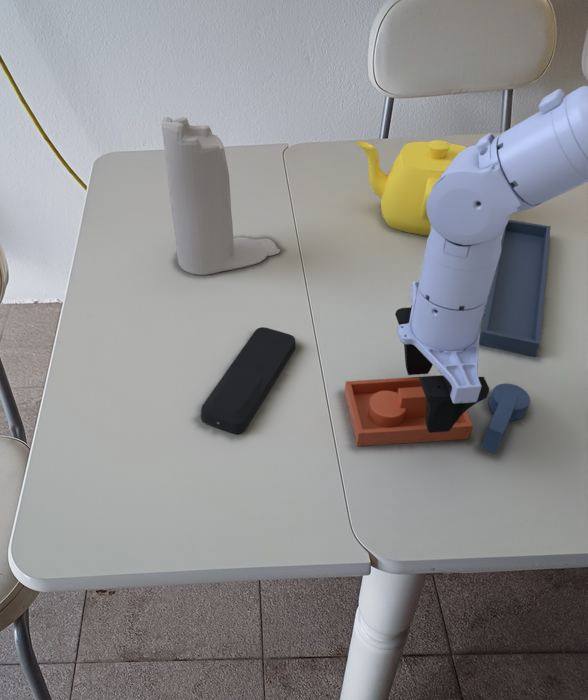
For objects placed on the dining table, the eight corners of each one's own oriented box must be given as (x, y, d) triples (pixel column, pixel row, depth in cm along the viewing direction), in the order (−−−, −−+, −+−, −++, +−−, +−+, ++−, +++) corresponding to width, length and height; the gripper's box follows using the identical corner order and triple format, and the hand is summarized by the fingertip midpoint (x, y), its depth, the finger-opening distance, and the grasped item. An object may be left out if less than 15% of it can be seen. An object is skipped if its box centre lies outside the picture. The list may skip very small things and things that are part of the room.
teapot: (340, 240, 89) (346, 167, 82) (355, 186, 100) (362, 117, 93) (508, 260, 84) (531, 184, 77) (505, 200, 95) (524, 129, 88)
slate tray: (535, 356, 71) (539, 343, 70) (478, 344, 73) (482, 331, 71) (546, 238, 88) (550, 226, 86) (500, 230, 89) (503, 218, 88)
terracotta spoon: (446, 397, 66) (451, 376, 64) (456, 423, 64) (462, 403, 62) (364, 402, 66) (367, 381, 64) (372, 429, 64) (375, 408, 62)
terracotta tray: (448, 387, 68) (451, 374, 67) (469, 438, 63) (473, 426, 61) (344, 393, 68) (345, 381, 66) (356, 446, 63) (358, 433, 61)
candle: (285, 259, 86) (288, 111, 73) (184, 279, 84) (167, 130, 70) (268, 231, 91) (268, 89, 78) (173, 250, 89) (155, 106, 75)
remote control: (259, 336, 76) (197, 420, 66) (259, 324, 75) (196, 408, 64) (298, 347, 74) (241, 436, 64) (298, 335, 73) (240, 424, 63)
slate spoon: (507, 458, 61) (515, 438, 59) (469, 443, 62) (476, 423, 60) (529, 402, 66) (538, 381, 64) (494, 389, 67) (501, 368, 65)
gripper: (387, 244, 60) (371, 352, 69) (429, 350, 49) (404, 460, 58) (462, 240, 60) (437, 348, 69) (521, 344, 49) (482, 455, 58)
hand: (427, 399), depth 64 cm, fingers open, 7 cm apart
